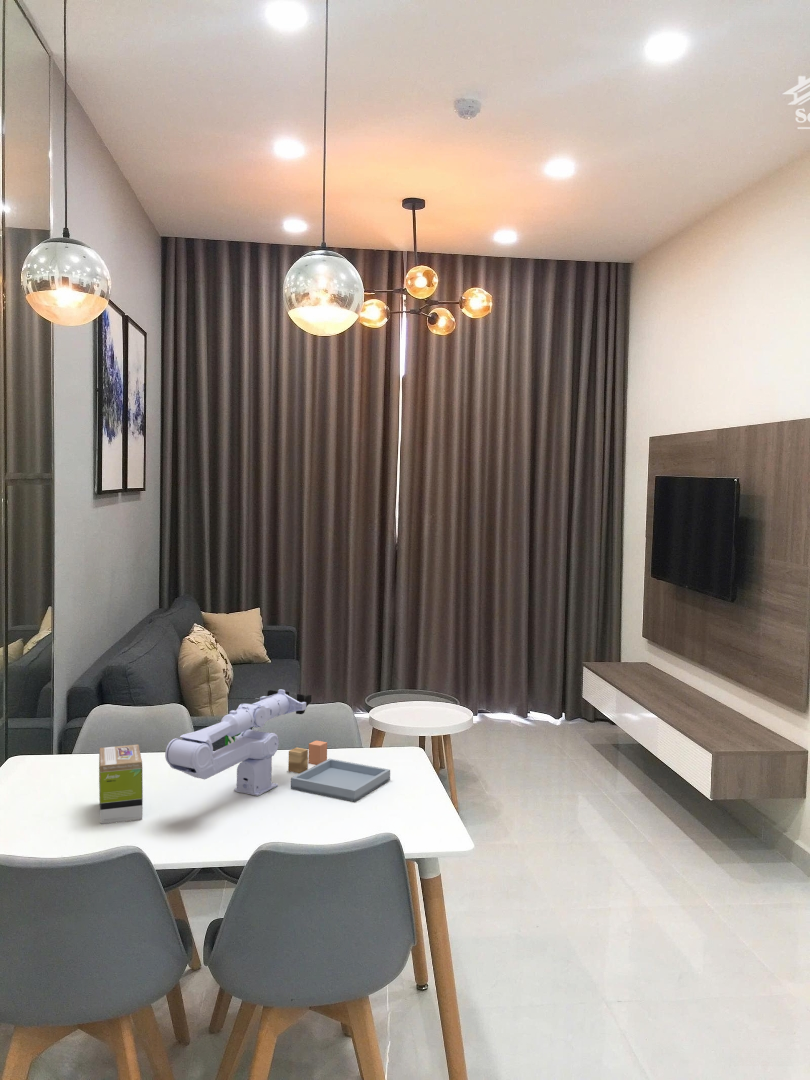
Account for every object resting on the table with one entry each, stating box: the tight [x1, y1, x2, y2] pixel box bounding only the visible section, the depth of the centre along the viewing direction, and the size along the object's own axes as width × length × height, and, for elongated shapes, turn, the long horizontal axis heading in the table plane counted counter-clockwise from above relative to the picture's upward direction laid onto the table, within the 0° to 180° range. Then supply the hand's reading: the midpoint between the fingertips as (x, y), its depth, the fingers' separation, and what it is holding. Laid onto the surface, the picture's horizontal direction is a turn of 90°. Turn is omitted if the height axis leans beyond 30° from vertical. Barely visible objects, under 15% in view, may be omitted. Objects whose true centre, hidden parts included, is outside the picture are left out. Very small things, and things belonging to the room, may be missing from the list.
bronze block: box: [287, 747, 309, 774], centre depth 244 cm, size 4×4×6 cm
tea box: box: [98, 744, 144, 825], centre depth 209 cm, size 15×10×15 cm
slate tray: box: [290, 758, 391, 803], centre depth 233 cm, size 20×20×3 cm
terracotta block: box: [308, 740, 328, 766], centre depth 251 cm, size 4×4×6 cm
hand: (299, 696), depth 245 cm, fingers open, 7 cm apart
